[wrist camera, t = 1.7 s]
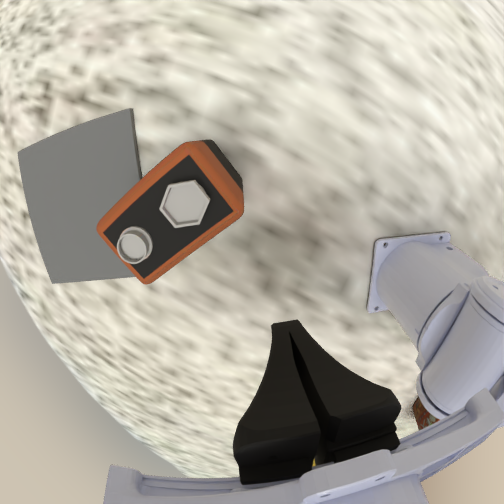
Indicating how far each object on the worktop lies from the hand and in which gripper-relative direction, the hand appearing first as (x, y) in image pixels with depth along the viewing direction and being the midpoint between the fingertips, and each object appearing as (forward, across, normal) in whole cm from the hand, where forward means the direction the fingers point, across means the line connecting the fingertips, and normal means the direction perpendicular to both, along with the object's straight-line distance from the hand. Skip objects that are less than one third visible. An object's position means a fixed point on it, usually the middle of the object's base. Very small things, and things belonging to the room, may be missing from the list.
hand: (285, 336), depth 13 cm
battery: (+11, +5, -6) cm, 13 cm away
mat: (+11, +15, -6) cm, 20 cm away
